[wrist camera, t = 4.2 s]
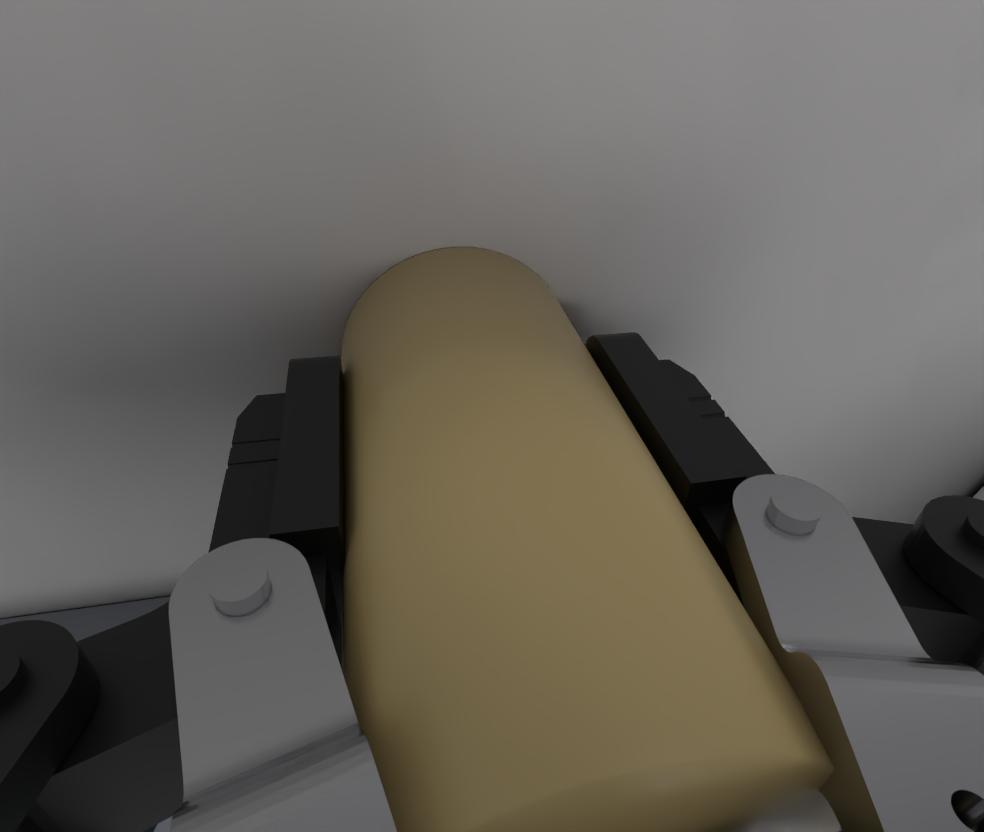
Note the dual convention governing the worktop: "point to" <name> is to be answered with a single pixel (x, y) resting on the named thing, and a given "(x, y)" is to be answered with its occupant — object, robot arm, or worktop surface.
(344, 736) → the robot arm
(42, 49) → the worktop surface
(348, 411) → the tan rounded cylinder
